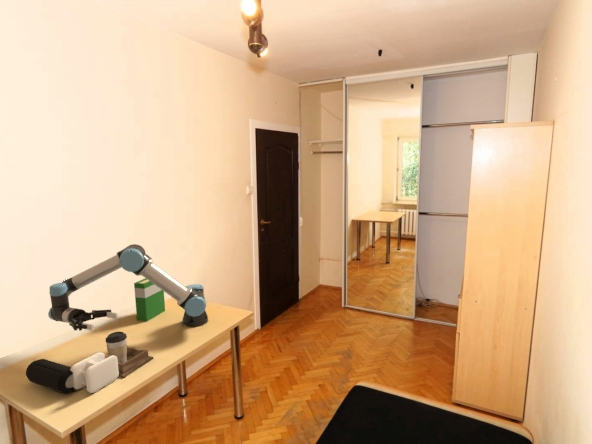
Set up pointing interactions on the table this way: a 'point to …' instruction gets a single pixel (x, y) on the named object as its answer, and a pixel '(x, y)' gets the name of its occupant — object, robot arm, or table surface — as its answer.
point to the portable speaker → (51, 375)
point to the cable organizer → (95, 372)
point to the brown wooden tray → (133, 361)
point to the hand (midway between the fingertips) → (105, 321)
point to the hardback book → (148, 300)
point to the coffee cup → (117, 345)
